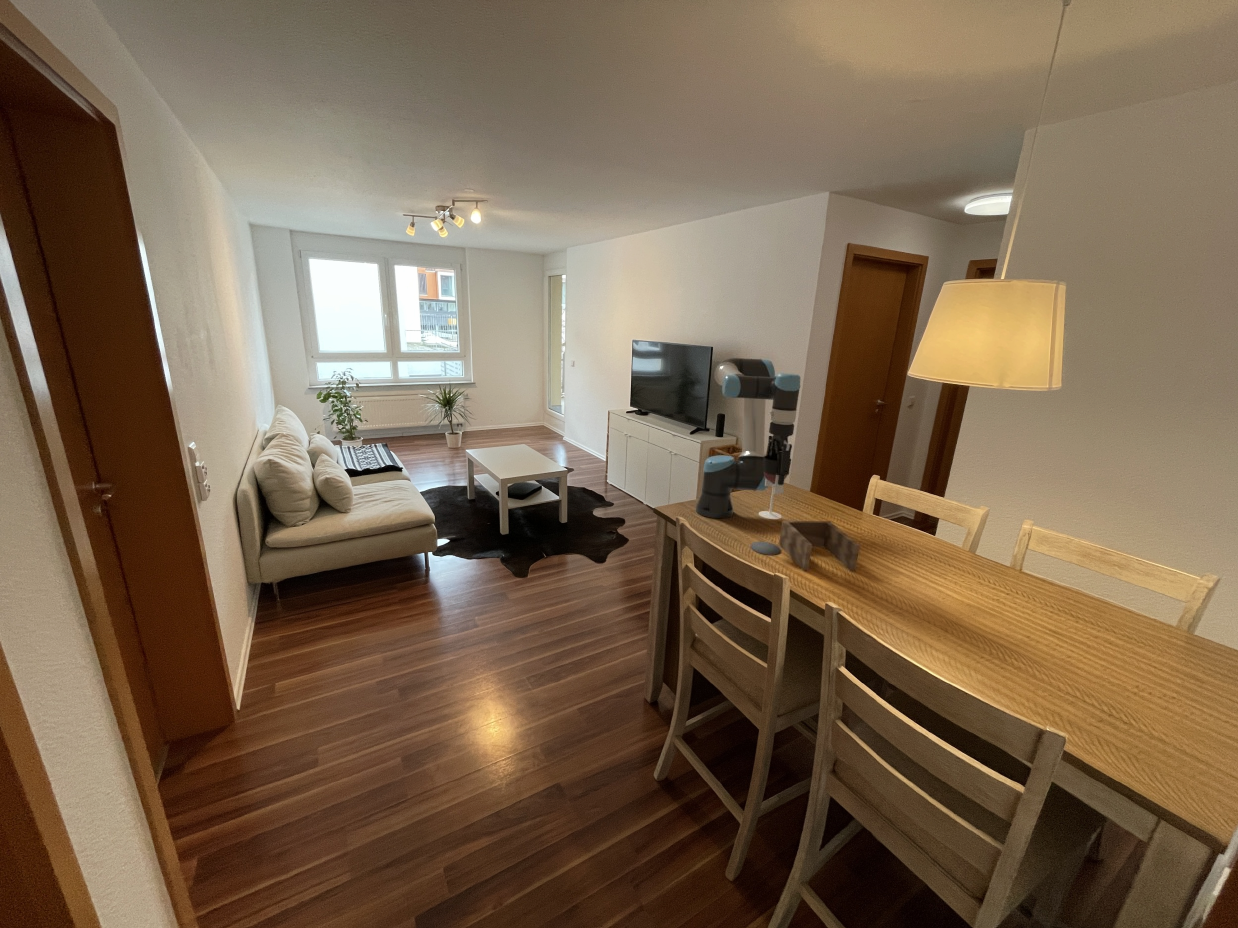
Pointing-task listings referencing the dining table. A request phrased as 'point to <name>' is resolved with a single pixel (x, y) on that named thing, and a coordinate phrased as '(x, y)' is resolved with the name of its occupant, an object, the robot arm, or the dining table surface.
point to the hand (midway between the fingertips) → (773, 489)
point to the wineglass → (770, 475)
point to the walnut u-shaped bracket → (817, 542)
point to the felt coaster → (765, 548)
